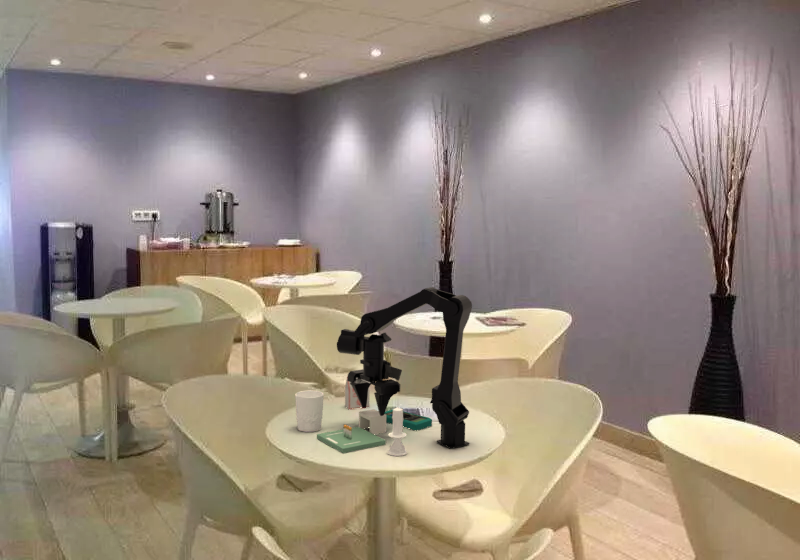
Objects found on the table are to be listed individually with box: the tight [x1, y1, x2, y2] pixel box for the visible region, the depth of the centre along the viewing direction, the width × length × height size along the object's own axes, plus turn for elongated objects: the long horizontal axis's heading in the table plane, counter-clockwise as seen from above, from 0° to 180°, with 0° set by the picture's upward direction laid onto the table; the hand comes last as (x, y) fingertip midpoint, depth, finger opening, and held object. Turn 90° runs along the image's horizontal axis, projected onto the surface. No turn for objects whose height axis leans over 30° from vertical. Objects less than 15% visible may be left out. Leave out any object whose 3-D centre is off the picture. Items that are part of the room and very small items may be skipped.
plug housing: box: [358, 409, 387, 435], centre depth 209 cm, size 6×5×5 cm
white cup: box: [294, 389, 325, 433], centre depth 209 cm, size 8×8×10 cm
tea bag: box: [344, 375, 371, 410], centre depth 232 cm, size 4×7×10 cm, turn 112°
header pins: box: [343, 423, 353, 440], centre depth 198 cm, size 3×1×3 cm, turn 35°
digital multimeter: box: [385, 409, 433, 432], centre depth 216 cm, size 7×15×3 cm, turn 48°
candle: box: [386, 407, 409, 457], centre depth 190 cm, size 5×5×12 cm
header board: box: [316, 426, 387, 454], centre depth 199 cm, size 14×13×1 cm
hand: (372, 411), depth 208 cm, fingers open, 9 cm apart
